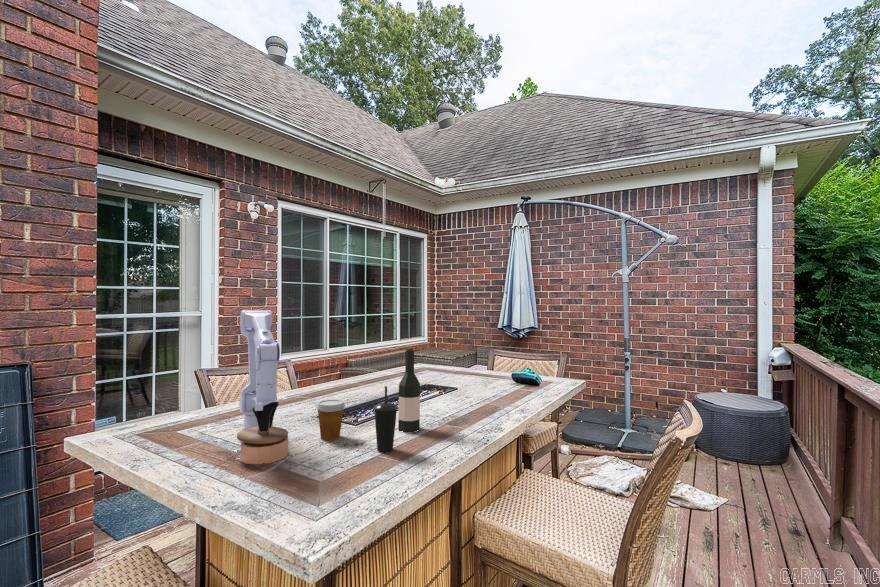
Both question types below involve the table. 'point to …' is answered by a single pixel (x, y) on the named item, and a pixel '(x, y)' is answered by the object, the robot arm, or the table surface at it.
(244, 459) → the bowl
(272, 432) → the lid
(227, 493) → the table surface
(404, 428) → the wine bottle
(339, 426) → the disposable coffee cup
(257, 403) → the robot arm
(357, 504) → the table surface
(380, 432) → the drinking cup
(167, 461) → the table surface
